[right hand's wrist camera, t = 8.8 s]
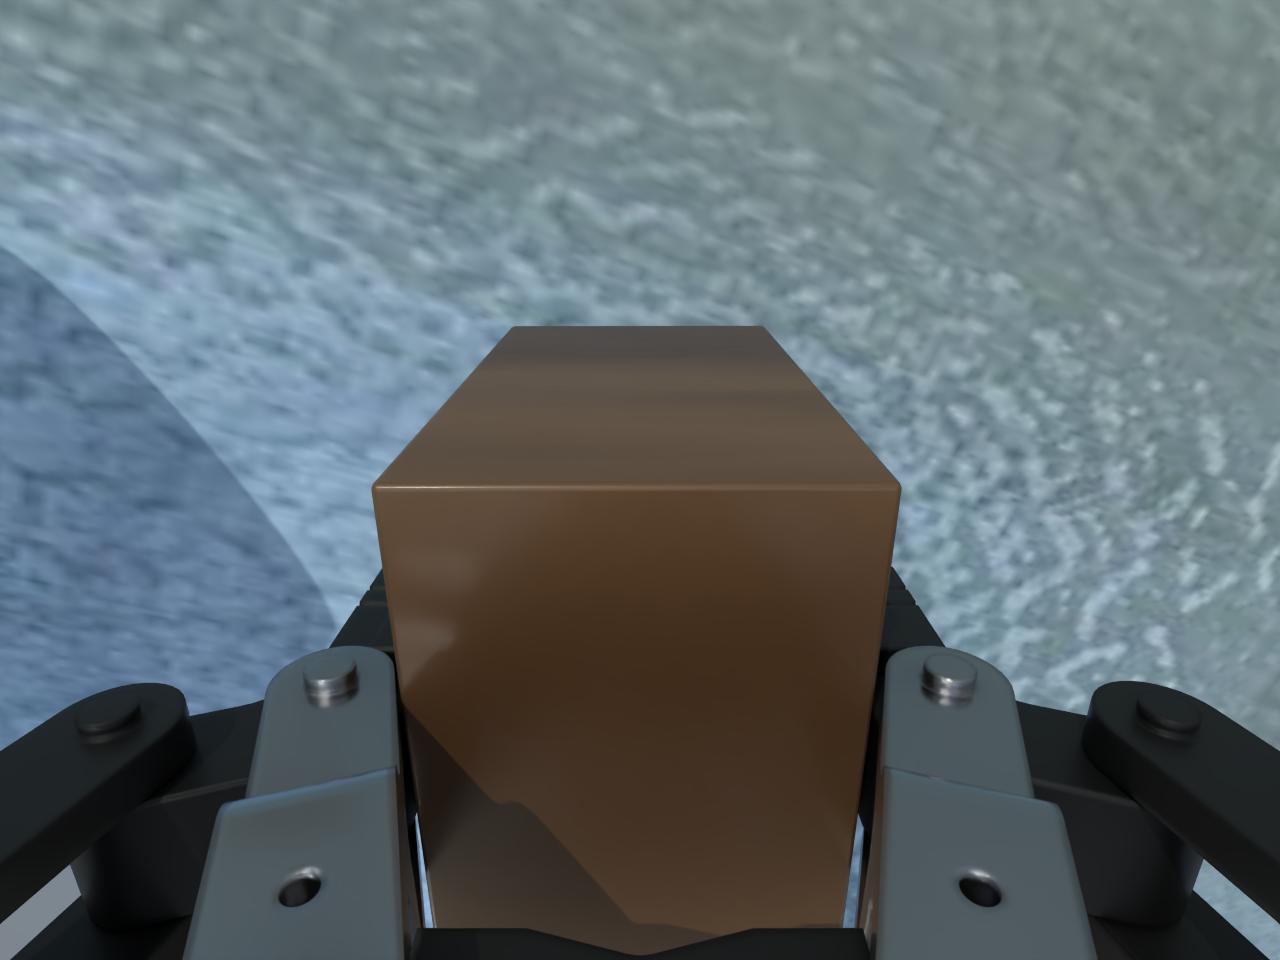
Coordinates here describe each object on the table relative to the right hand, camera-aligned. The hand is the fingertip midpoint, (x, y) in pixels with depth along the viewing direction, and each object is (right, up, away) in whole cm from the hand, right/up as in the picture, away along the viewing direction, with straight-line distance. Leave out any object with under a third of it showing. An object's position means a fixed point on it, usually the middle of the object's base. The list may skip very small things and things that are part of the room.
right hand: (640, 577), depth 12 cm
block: (0, -6, +6) cm, 8 cm away
